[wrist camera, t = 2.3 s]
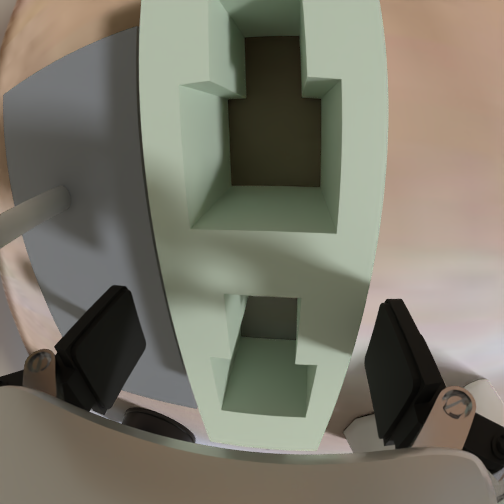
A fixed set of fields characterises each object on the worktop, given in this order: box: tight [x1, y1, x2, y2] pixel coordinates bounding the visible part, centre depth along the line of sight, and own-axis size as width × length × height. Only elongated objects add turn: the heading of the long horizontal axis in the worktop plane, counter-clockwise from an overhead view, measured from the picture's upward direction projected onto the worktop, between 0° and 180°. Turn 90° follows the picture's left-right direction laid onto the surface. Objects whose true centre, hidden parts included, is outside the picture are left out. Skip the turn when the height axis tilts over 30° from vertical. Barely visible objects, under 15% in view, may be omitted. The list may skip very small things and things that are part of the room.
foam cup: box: [463, 379, 504, 427], centre depth 13 cm, size 10×9×13 cm
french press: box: [122, 408, 196, 443], centre depth 18 cm, size 12×9×23 cm
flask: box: [343, 414, 395, 453], centre depth 18 cm, size 7×7×10 cm
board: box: [0, 26, 198, 409], centre depth 13 cm, size 28×13×9 cm, turn 2°
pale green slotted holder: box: [139, 0, 388, 451], centre depth 12 cm, size 24×7×6 cm, turn 2°
